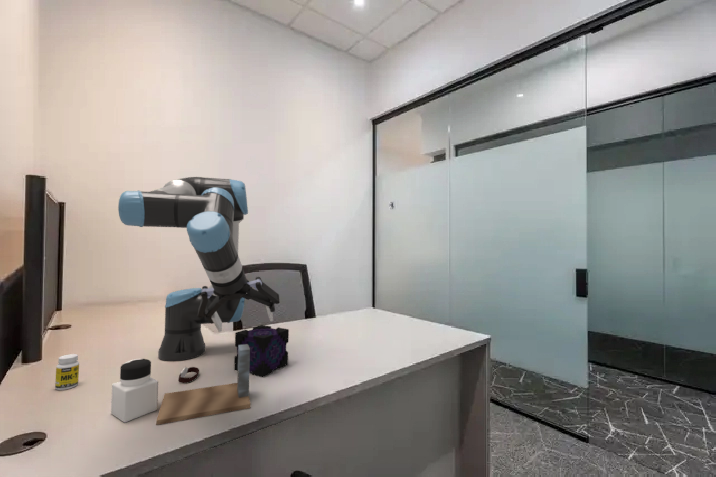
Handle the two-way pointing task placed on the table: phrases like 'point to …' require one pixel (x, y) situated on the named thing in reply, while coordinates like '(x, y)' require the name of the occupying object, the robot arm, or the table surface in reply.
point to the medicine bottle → (134, 391)
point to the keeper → (209, 396)
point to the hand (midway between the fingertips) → (246, 322)
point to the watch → (185, 371)
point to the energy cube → (264, 349)
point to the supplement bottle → (67, 372)
